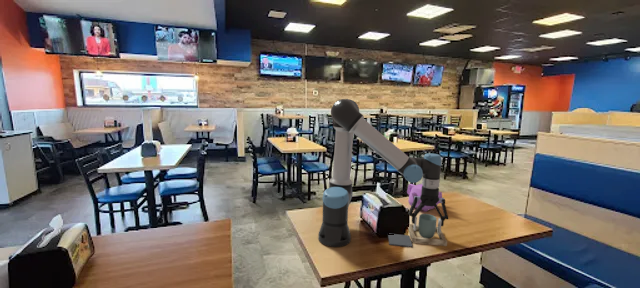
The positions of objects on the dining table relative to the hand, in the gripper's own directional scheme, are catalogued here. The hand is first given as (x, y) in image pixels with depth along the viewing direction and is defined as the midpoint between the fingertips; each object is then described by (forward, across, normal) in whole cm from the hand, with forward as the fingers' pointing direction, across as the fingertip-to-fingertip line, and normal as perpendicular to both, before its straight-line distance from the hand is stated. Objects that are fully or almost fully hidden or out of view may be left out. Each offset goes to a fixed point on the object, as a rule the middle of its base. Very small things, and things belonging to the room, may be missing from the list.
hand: (426, 230), depth 133 cm
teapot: (+3, +5, +39) cm, 39 cm away
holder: (+3, 0, 0) cm, 3 cm away
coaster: (+3, -13, -7) cm, 15 cm away
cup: (+3, 0, 0) cm, 3 cm away
